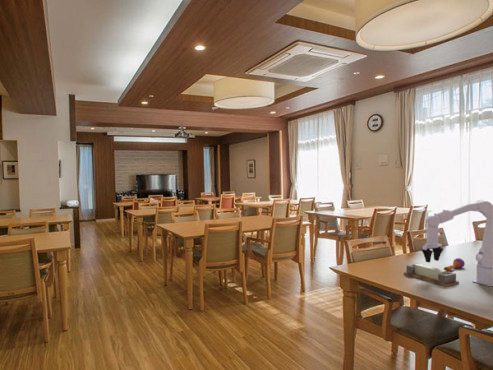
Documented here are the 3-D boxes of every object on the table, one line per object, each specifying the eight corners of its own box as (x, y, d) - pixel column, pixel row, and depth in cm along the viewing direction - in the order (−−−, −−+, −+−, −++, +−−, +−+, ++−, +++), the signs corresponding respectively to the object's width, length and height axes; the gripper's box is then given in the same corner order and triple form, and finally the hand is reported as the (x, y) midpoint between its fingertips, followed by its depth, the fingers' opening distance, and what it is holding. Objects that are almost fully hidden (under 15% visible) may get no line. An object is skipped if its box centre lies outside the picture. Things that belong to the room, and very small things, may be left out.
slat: (446, 280, 180) (446, 270, 180) (441, 281, 178) (441, 271, 178) (419, 272, 194) (419, 263, 194) (414, 273, 192) (414, 264, 192)
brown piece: (440, 264, 201) (454, 257, 213) (442, 274, 201) (456, 266, 213) (451, 265, 196) (465, 257, 208) (453, 275, 196) (467, 266, 208)
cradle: (458, 283, 177) (459, 274, 177) (446, 286, 172) (446, 276, 172) (416, 271, 200) (416, 262, 199) (403, 274, 195) (403, 265, 194)
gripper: (433, 234, 194) (433, 258, 194) (417, 237, 187) (417, 261, 188) (445, 236, 188) (445, 260, 188) (429, 239, 181) (429, 264, 181)
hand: (432, 261), depth 187 cm, fingers open, 7 cm apart
